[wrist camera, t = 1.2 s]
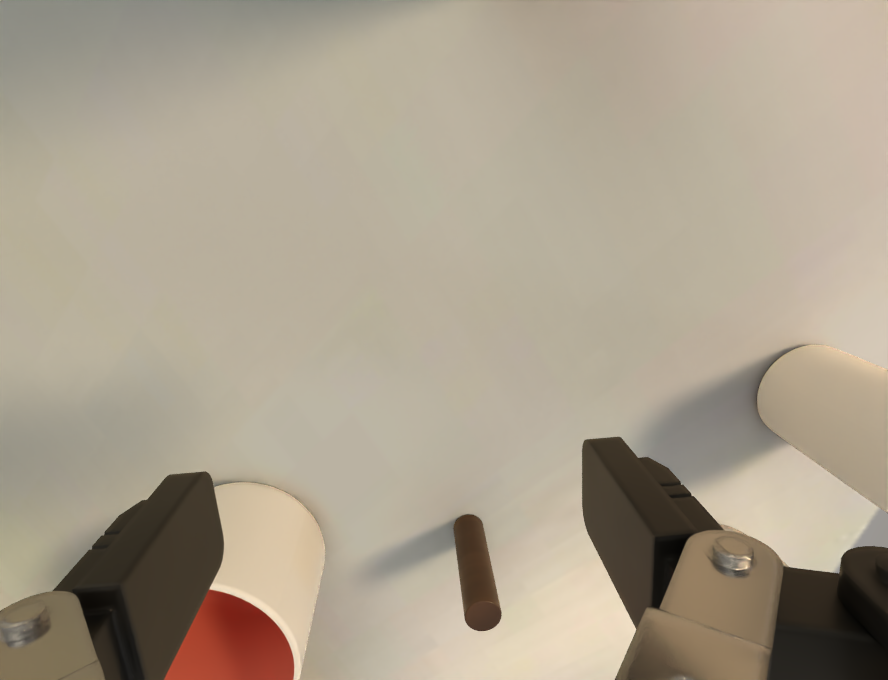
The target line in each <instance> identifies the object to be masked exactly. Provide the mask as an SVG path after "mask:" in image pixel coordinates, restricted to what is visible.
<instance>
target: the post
mask: <svg viewBox="0 0 888 680" xmlns="http://www.w3.org/2000/svg"><path fill="white" fill-rule="evenodd" d="M453 529H454V537H455V545H456V553H457V561H458V569H459V577H460V584H461V592H462V600H463V608H464V616H465V621H466V623H467V625H468V626H469V627H470V628H472V629H474V630H477V631H487V630H490V629H492V628H494V627H495V626H496V625H497V624H498V623H499V621H500V619H501V608H500V604H499V599H498V594H497V589H496V585H495V580H494V575H493V571H492V566H491V561H490V556H489V552H488V547H487V542H486V537H485V533H484V528H483V524H482V521H481V520H480V519H479V518H478V517H477V516H474V515H463V516H461V517H460V518H458V519H457V520H456V522H455V524H454V527H453Z"/></svg>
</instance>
